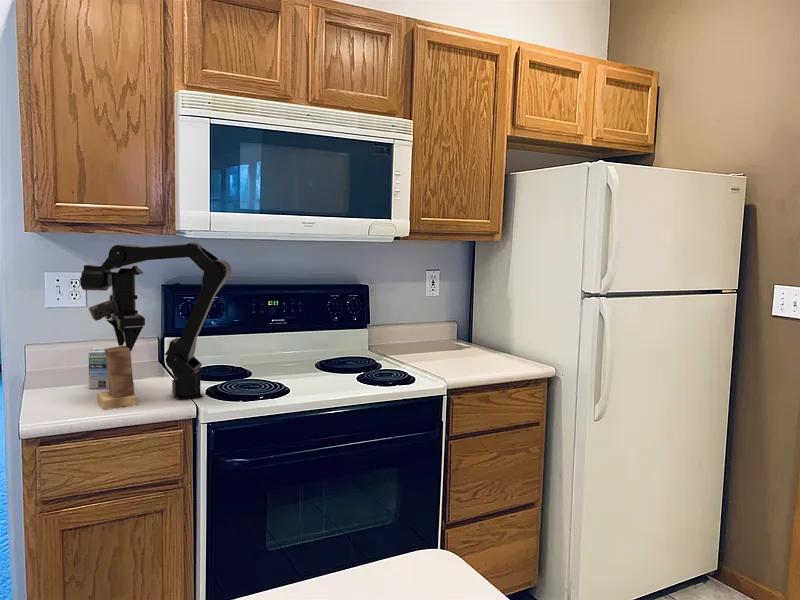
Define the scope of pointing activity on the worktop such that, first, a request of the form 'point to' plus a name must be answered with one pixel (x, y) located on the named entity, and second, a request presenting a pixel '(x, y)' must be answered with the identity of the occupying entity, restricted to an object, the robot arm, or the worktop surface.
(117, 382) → the walnut block
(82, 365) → the worktop surface
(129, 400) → the oak block
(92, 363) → the light bulb box
